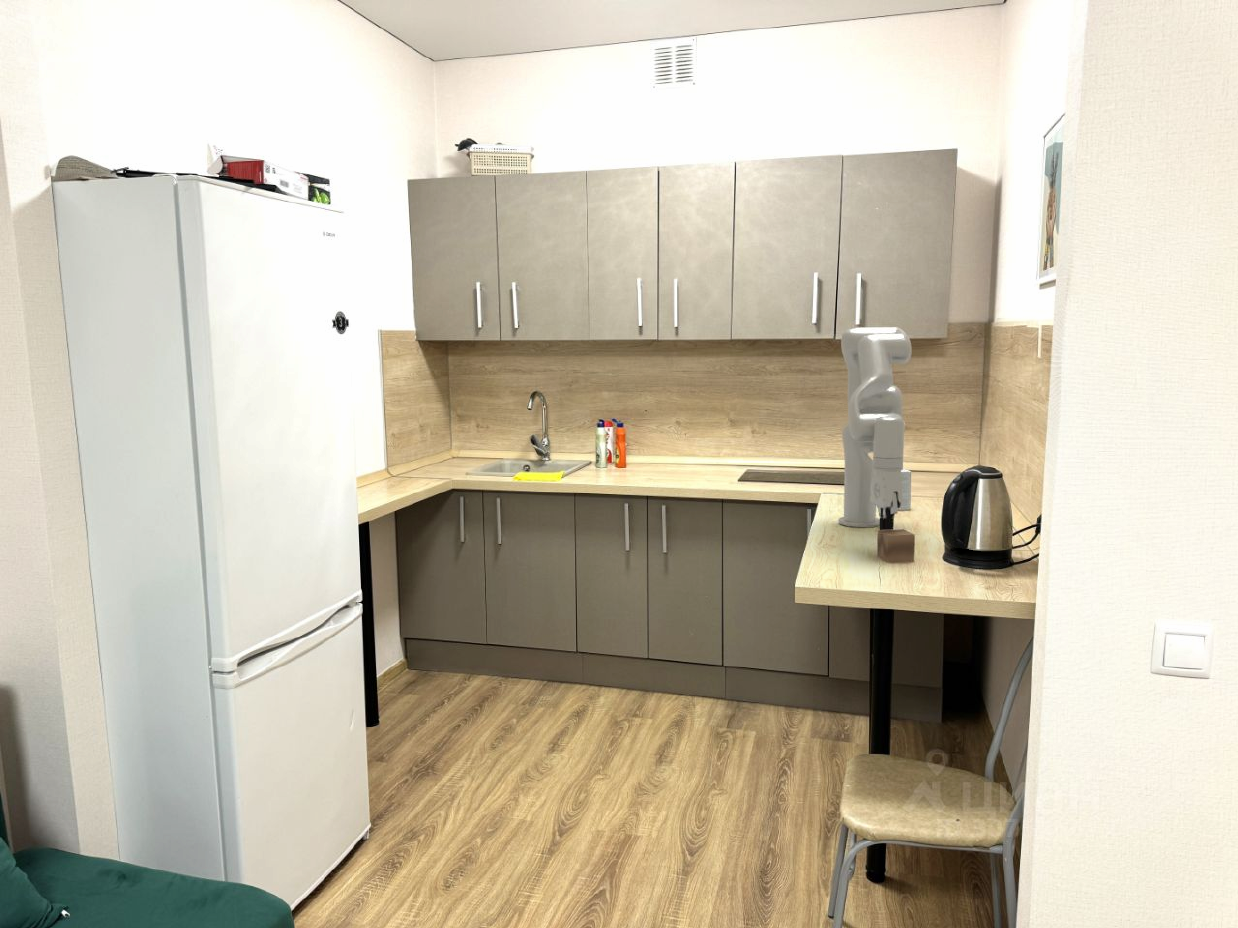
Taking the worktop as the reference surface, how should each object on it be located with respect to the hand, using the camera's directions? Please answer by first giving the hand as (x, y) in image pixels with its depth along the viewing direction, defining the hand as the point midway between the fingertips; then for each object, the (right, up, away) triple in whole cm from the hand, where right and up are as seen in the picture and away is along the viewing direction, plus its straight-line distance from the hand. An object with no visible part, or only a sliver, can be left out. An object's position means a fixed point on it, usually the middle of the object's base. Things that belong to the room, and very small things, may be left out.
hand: (886, 532), depth 232 cm
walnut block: (0, -3, -2) cm, 3 cm away
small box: (+22, +3, +62) cm, 66 cm away
